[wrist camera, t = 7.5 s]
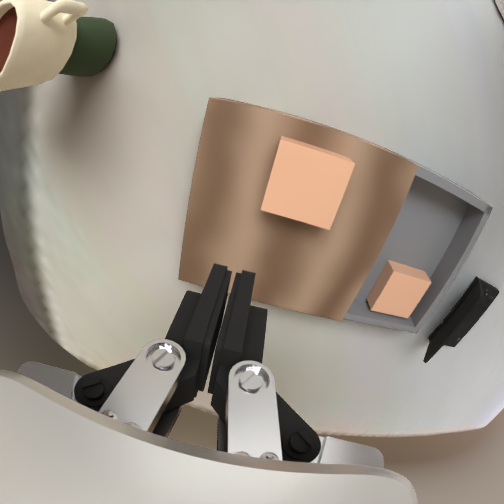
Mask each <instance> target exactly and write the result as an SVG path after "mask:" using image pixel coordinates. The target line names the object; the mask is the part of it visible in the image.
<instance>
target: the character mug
mask: <svg viewBox="0 0 504 504" xmlns="http://www.w3.org/2000/svg"><path fill="white" fill-rule="evenodd" d="M87 10H88V7H87V6H86V5H85V4H84V3H81V2H77V1H73V0H57V1H56V2H49V1H46V0H3V1H1V2H0V91H4V90H9V89H15V88H21V87H27V86H34V85H38V84H41V83H44V82H47V81H49V80H52V79H53V78H54V77H55V76H56V75H57V74H65V75H72V76H92V75H94V74H96V73H98V72H100V71H101V70H102V69H103V68H104V67H105V66H106V64H107V63H108V62H109V61H110V59H111V57H112V54H113V51H114V49H115V46H116V30H115V27H114V24H113V23H112V22H110V21H108V20H106V19H102V18H95V17H81V16H83V15H84V14H85V13H86V12H87Z"/></svg>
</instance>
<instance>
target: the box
mask: <svg viewBox="0 0 504 504" xmlns="http://www.w3.org/2000/svg"><path fill="white" fill-rule="evenodd" d="M404 158H405V157H404ZM406 159H407V158H406ZM408 160H409V161H411V162H413V163H414V164H416V165H418V166H419V167H418V169H417V172H416V174H415V177H414V179H413V182H412V184H411V187H410V189H409V191H408V194H407V196H406V198H405V201H404V203H403V205H402V207H401V210H400V212H399V214H398V216H397V218H396V221H395V223H394V225H393V227H392V229H391V231H390V233H389V235H388V237H387V239H386V241H385V243H384V245H383V247H382V249H381V251H380V253H379V255H378V257H377V259H376V261H375V263H374V265H373V267H372V269H371V271H370V272H369V274H368V276H367V278H366V280H365V282H364V283H363V285H362V287H361V289H360V290H359V292H358V294H357V296H356V297H355V299H354V301H353V303H352V304H351V306H350V308H349V309H348V311H347V313H346V314H345V316H344V319H348V320H353V321H357V322H362V323H367V324H371V325H376V326H381V327H386V328H391V329H396V330H401V331H406V332H411V333H417V332H418V331H419V329H420V328H421V327H422V325H423V324H424V323H425V321H426V320H427V319H428V317H429V316H430V315H431V313H432V312H433V310H434V309H435V308H436V306H437V305H438V303H439V302H440V300H441V299H442V297H443V296H444V295H445V293H446V291H447V290H448V288H449V287H450V285H451V284H452V282H453V281H454V279H455V277H456V276H457V274H458V273H459V271H460V269H461V268H462V266H463V264H464V262H465V261H466V259H467V257H468V256H469V254H470V252H471V250H472V248H473V246H474V245H475V243H476V241H477V239H478V237H479V235H480V233H481V231H482V229H483V227H484V225H485V223H486V221H487V219H488V217H489V215H490V212H491V210H492V207H491V206H489V205H488V204H487V203H485V202H484V201H482V200H481V199H480V198H478V197H477V196H475V195H474V194H472V193H471V192H469V191H467V190H466V189H464V188H462V187H461V186H459V185H457V184H455V183H454V182H452V181H450V180H448V179H447V178H445V177H443V176H441V175H439V174H437V173H435V172H434V171H432V170H430V169H428V168H426V167H424V166H422V165H420V164H418V163H416V162H414V161H412V160H410V159H408ZM388 260H391V261H394V262H397V263H400V264H404V265H407V266H410V267H413V268H416V269H419V270H423V271H425V272H426V274H427V276H428V277H429V279H430V280H431V282H432V283H431V284H430V286H429V287H428V289H427V291H426V292H425V294H424V295H423V297H422V298H421V300H420V301H419V303H418V304H417V306H416V307H415V309H414V310H413V312H412V313H411V315H410V316H409V317H408V318H404V317H399V316H395V315H390V314H385V313H381V312H376V311H372V310H370V306H369V303H368V300H367V297H368V295H369V293H370V292H371V290H372V288H373V286H374V285H375V283H376V281H377V279H378V277H379V276H380V274H381V272H382V270H383V268H384V266H385V264H386V262H387V261H388Z"/></svg>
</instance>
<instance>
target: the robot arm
mask: <svg viewBox="0 0 504 504" xmlns="http://www.w3.org/2000/svg"><path fill="white" fill-rule="evenodd" d="M495 2H496V4H497V7H498V9H499V11H500V13H501V15H502V17H503V19H504V0H495ZM227 268H228V266H224V265H220V264H216V263H214V265H213V267H212V269H211V272H210V274H209V277H208V279H207V282H206V284H205V287H204V289H203V292H202V294H200V293H196V292H192V291H187V292H186V294H185V296H184V298H183V300H182V302H181V304H180V307H179V309H178V311H177V313H176V315H175V317H174V320H173V322H172V324H171V326H170V329H169V331H168V333H167V335H166V338H165V339H158V340H153V341H151V342H149V343H148V344H147V345H146V346H145V347H144V348H143V349H142V350H141V352H140V353H139V355H138V356H137V357H136V359H133V360H130V361H127V362H124V363H121V364H118V365H115V366H112V367H108V368H105V369H102V370H99V371H96V372H92V373H89V374H86V375H84V376H79V375H77V373H76V372H72V371H67V370H63V369H59V368H55V367H52V366H48V365H44V364H40V363H37V362H28V363H25V364H24V365H22V366H21V368H20V369H19V371H18V373H14V372H10V371H4V370H0V504H418V501H417V496H416V493H415V490H414V488H413V486H412V484H411V483H410V482H409V480H408V479H406V478H405V477H403V476H402V475H400V474H398V473H395V472H392V471H390V470H387V469H383V468H384V457H383V455H382V454H381V452H380V451H379V450H378V449H376V448H374V447H371V446H366V445H362V444H357V443H353V442H349V441H345V440H341V439H336V438H333V437H329V436H327V437H325V438H324V437H320V436H318V435H317V434H316V432H315V431H314V430H313V429H312V428H311V427H310V426H309V425H308V424H307V423H306V422H305V421H304V420H303V419H302V418H301V417H300V416H299V415H298V414H297V413H296V412H295V411H294V410H293V409H292V408H291V407H290V406H289V405H288V404H287V403H286V402H285V401H284V400H283V399H282V398H281V397H280V396H279V395H278V393H277V392H276V389H275V380H274V376H273V374H272V372H271V371H270V369H269V368H267V367H266V366H265V365H263V364H262V358H263V349H264V340H265V331H266V322H267V309H263V308H259V307H254V306H250V303H251V298H252V292H253V286H254V281H255V275H256V273H254V272H249V271H245V270H242V273H238V272H236V275H235V278H234V282H233V286H232V289H231V293H230V297H229V300H228V304H227V308H226V311H225V315H224V310H225V304H226V299H227V294H228V289H229V284H230V279H231V274H232V271H229V270H227ZM223 315H224V319H223ZM222 320H223V322H222ZM221 324H222V326H221ZM220 328H221V330H220ZM219 331H220V333H219ZM218 335H219V337H218ZM217 339H218V341H217ZM216 343H217V345H216ZM215 346H216V349H215ZM214 350H215V355H214V360H213V365H212V371H211V377H210V382H209V388H208V393H211V394H213V396H212V401H211V406H212V407H213V408H214V410H215V411H216V412H217V414H218V420H217V421H218V422H217V450H211V449H208V448H203V447H199V446H195V445H191V444H187V443H183V442H180V441H176V440H173V439H169V438H168V436H169V434H170V432H171V430H172V428H173V426H174V425H175V423H176V421H177V418H178V416H179V414H180V413H181V411H182V409H183V406H184V404H186V403H188V402H191V401H193V400H194V397H196V396H197V392H198V390H199V391H204V387H205V383H206V380H207V376H208V372H209V368H210V365H211V361H212V357H213V354H214Z"/></svg>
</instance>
